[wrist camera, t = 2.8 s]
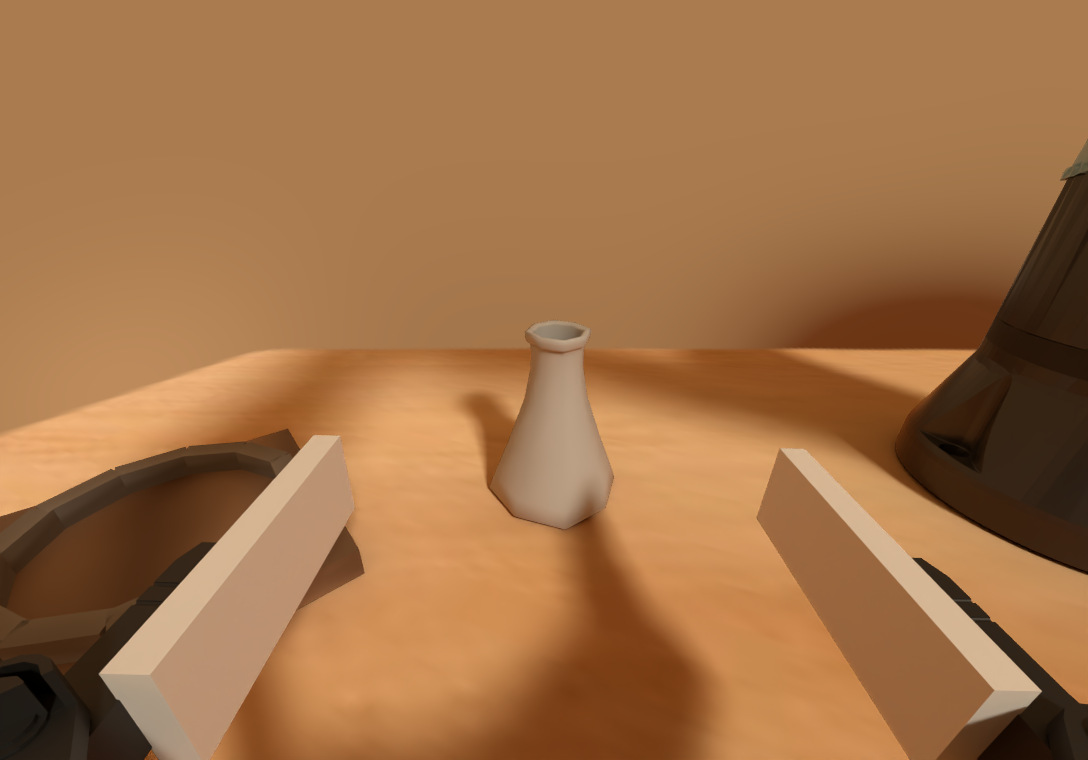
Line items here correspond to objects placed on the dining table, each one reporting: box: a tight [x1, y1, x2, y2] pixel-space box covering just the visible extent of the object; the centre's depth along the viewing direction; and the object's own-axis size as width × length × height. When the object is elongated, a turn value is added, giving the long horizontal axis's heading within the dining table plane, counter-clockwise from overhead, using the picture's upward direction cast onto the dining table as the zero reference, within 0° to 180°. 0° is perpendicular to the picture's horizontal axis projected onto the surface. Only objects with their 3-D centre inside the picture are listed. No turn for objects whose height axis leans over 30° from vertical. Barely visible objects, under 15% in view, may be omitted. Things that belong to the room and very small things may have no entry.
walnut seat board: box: [0, 429, 364, 675], centre depth 19 cm, size 13×13×3 cm
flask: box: [489, 320, 614, 530], centre depth 23 cm, size 7×7×10 cm
